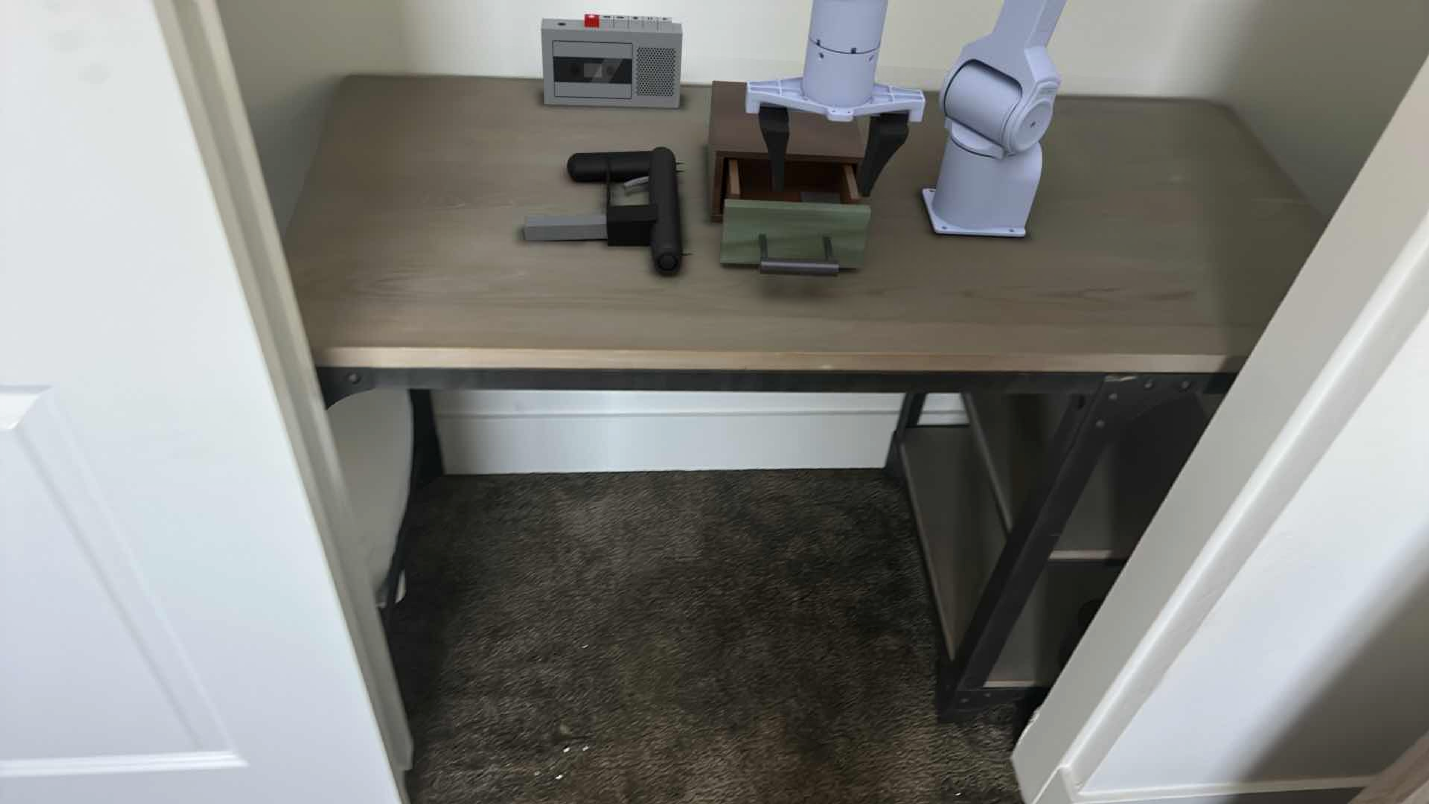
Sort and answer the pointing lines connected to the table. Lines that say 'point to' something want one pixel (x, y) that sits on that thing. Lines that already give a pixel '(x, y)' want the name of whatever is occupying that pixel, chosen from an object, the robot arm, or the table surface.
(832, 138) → the cabinet
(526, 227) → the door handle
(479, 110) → the table surface
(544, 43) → the cassette player
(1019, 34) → the robot arm
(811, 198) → the grey sheathed bar
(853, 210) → the drawer
